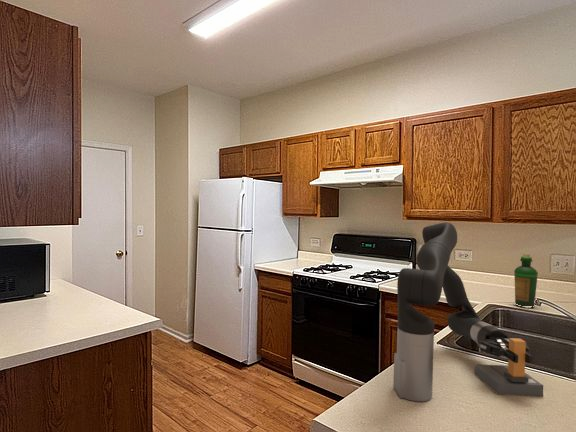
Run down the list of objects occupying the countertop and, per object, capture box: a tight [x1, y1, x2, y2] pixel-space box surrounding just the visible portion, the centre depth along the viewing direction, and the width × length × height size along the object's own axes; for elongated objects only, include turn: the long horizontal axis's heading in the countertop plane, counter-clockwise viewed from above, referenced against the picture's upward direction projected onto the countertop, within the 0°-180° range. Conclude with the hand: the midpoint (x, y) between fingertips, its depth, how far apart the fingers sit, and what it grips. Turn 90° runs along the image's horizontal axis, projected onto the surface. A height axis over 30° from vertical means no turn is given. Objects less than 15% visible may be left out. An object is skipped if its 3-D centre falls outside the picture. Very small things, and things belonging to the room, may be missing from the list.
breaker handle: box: [504, 337, 528, 382], centre depth 99 cm, size 4×4×11 cm
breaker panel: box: [474, 364, 544, 397], centre depth 104 cm, size 12×12×3 cm
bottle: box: [513, 253, 539, 308], centre depth 194 cm, size 11×11×28 cm
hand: (523, 359), depth 97 cm, fingers closed on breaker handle, 3 cm apart
